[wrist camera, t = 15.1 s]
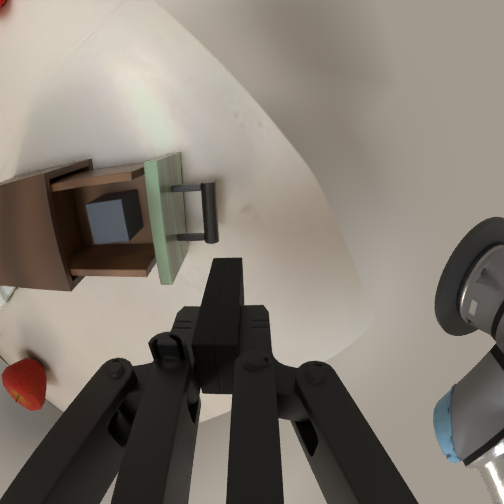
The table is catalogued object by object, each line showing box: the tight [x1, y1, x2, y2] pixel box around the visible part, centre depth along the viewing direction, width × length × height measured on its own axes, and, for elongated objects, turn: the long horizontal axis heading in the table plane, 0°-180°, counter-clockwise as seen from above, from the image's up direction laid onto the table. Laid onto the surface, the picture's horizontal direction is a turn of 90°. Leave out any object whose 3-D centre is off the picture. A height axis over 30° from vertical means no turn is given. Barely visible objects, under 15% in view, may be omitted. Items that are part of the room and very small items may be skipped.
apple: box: [2, 358, 47, 411], centre depth 39 cm, size 11×11×12 cm
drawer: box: [50, 153, 219, 285], centre depth 27 cm, size 19×11×8 cm, turn 91°
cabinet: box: [0, 159, 93, 291], centre depth 27 cm, size 16×13×10 cm
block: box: [86, 189, 144, 244], centre depth 27 cm, size 4×4×4 cm
